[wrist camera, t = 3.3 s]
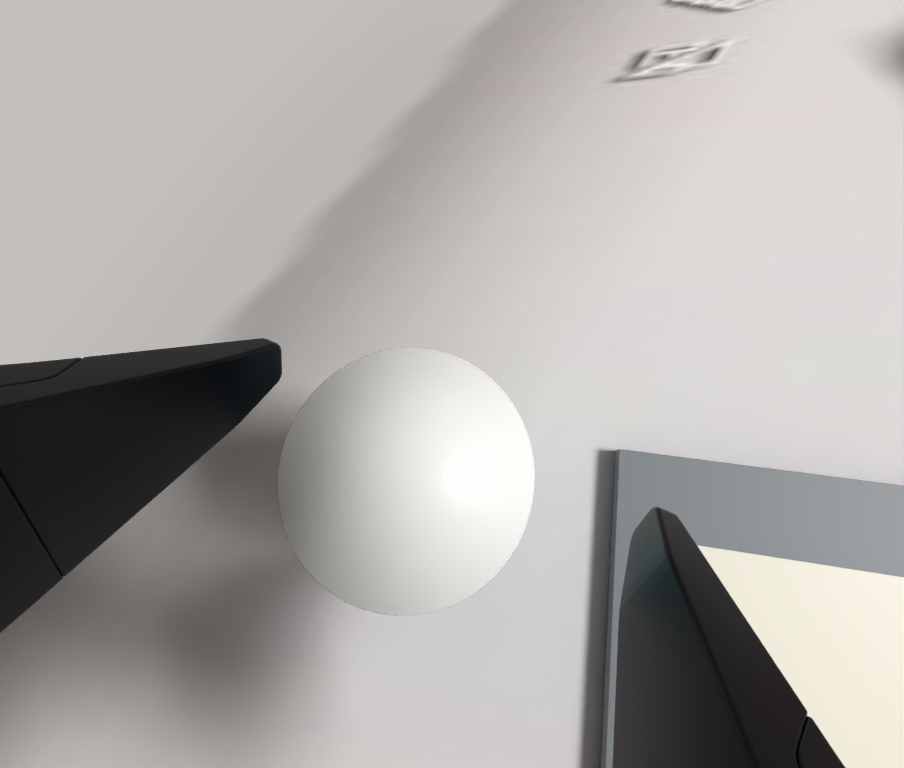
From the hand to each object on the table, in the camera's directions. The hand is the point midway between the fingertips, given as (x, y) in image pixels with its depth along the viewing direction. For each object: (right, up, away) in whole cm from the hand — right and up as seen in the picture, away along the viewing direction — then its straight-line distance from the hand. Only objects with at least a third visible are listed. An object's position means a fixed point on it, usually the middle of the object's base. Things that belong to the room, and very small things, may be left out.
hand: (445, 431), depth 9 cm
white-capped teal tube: (0, -3, +7) cm, 8 cm away
